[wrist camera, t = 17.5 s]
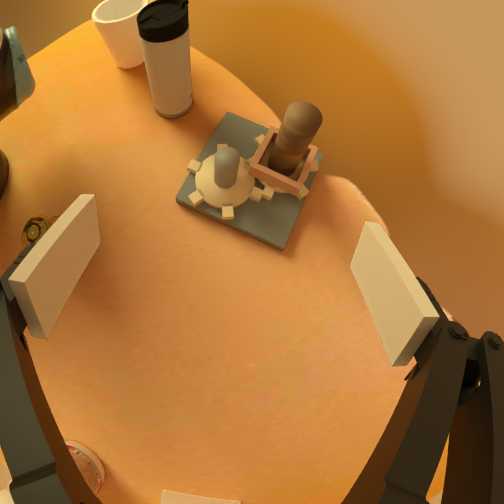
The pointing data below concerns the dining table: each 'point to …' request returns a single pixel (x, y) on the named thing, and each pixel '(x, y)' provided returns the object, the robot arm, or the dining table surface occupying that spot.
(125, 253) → the dining table surface
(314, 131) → the wooden dowel peg
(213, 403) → the dining table surface
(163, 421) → the dining table surface
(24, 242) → the salt shaker
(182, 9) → the travel mug
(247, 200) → the gear board
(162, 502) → the milk
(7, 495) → the fruit juice
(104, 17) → the foam cup
